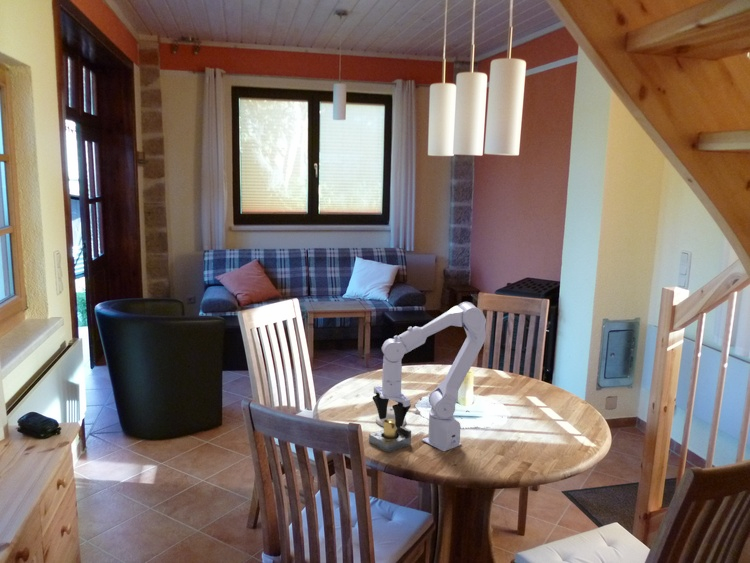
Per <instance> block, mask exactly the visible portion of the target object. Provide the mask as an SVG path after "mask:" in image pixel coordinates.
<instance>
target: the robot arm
mask: <svg viewBox="0 0 750 563" xmlns="http://www.w3.org/2000/svg"><path fill="white" fill-rule="evenodd" d="M486 324H487V319H486V316H485V314H484V313H483V310H481V309H480V308H478V307H476V306H475V305H474V303H472V302H469V301H463V302H460V303H459V304H458V305H454V306H453V307H451V308H450V309H449V310H447V311H445V312H444V313H442V314H441V315H439V316H437V317H436V318H433V319H432V320H431V321H429V322H428V323H426V324H424V325H423V326H416V325H415V326H413V327H412V326H408V328H407V330H406V331H404V332H402V333H401V334H399V335H397V334H396V335H394V336H393V338H388V339H386V340H385V341H384V342H383V344H382V346H381V352H382V353H383V359H382V362H383V363H382V374H381V376H382V377H381V378H382V383H381V384H382V385H381V386H378V385H377V386H374V387H373V394H375V395H373V396H372V401H373V403H374V404H375V407H376V409H377V413H378V415H379V418H380V419H384V418H386V415H387V407H388V405H389V401H393V402H395V403H396V404H393V405H392V407H393V410H394V413H395V425H396V427H401V426H402V425H403V422H404V418H406V415H407V414H408V411H409V410H410V409H411V406H412V404H411V398H408V397H407V396H405V395H404V394H403V393H402V378H403V377H402V373H403V372H402V371H403V367H402V366H403V365H402V359H403V358H404V355H405V354H408V353H409V352H412V350H415V349H416V348H418V347H420V346H422V345H424V344H425V343H426V340H427V338H428V337H430V336H432V335H434V334H436V333H438V332H441V331H442V330H444V329H446V328H448V327H450V326H452V327H453V326H454V327H460V328H462V327H463V329H464V331H465V334H466V338H465V340H464V342H463V344H462V346H461V348H460V349H459V351H458V353H457V355H456V356H455V359H454V360H453V363H452V364H451V366H450V368H449V370H448V371H447V374H446V376H445V377H444V379H443V380H442V381H441V382H440V383H438V385H437V386H436V388H435V389H434V390H432V391H431V392H430V394H429V396H428V403H429V404H430V406H431V408H430V411H429V415H428V417H429V418H428V436H427V437H425V438H422V439H421V440H422V442H424V443H426V444H428V445H429V446H432V447H434V448H436V449H438V450H440V451H442V452H446V451H448V450H451V449H454V448H457V447H459V446H462V442H461V422H460V421H458V420H457V419H455V417H454V414H455V411H456V404H457V401H458V398H459V390H460V388H461V386H462V385H463V382H464V380H465V379H466V377H467V375H468V373H469V371H470V369H471V368H472V366H473V364H474V362H475V360H476V359H477V357H478V354H479V353H480V350H482V347H483V345H484V343H485V342H486V338H487V335H486V334H487V330H486ZM403 426H404V425H403Z"/></svg>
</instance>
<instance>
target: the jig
mask: <svg viewBox="0 0 750 563" xmlns="http://www.w3.org/2000/svg"><path fill="white" fill-rule="evenodd" d="M383 436H384V429H381V430H378V431H375V432H372V433H369V434H368V442H369V443H370V444H372V445H374V446H376V447H377V448H379V449H381V450H383V451H385V452H386V453H390V452H393V451H397V450H400V449H402V448H406V447H408V446H411V445H412V444H411V443H412V430H410V429H409V428H406V427H404V425H403V426H401V427H397V438H396V439H385V438H383Z"/></svg>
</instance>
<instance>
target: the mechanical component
mask: <svg viewBox="0 0 750 563" xmlns="http://www.w3.org/2000/svg"><path fill="white" fill-rule="evenodd" d="M392 406H393V405H392ZM392 406H391V405H390V406H387V415H386V418H384V419H380V418H379V414H378V415H376V417H375V422H376V424H377V425H379V426H381V427H384V420H386V419H394V420H395V413H394V410H393V407H392ZM406 423H407V417H405V418H404V422H403V425H402V426H403V427H404V426H405V424H406Z"/></svg>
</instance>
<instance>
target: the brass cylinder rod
mask: <svg viewBox="0 0 750 563" xmlns="http://www.w3.org/2000/svg"><path fill="white" fill-rule="evenodd" d="M383 430H384V436H383V438H385V439H396V438H397V427H396V425H395V420H394V419H386V420H384V426H383Z"/></svg>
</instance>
